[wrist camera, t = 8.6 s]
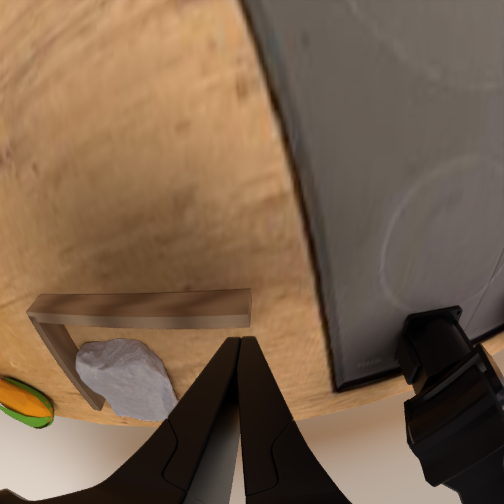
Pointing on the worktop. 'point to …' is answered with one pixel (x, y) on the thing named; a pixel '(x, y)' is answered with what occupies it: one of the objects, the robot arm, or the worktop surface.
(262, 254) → the worktop surface
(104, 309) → the corner walls
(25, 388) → the corn
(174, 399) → the stone block
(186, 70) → the worktop surface
